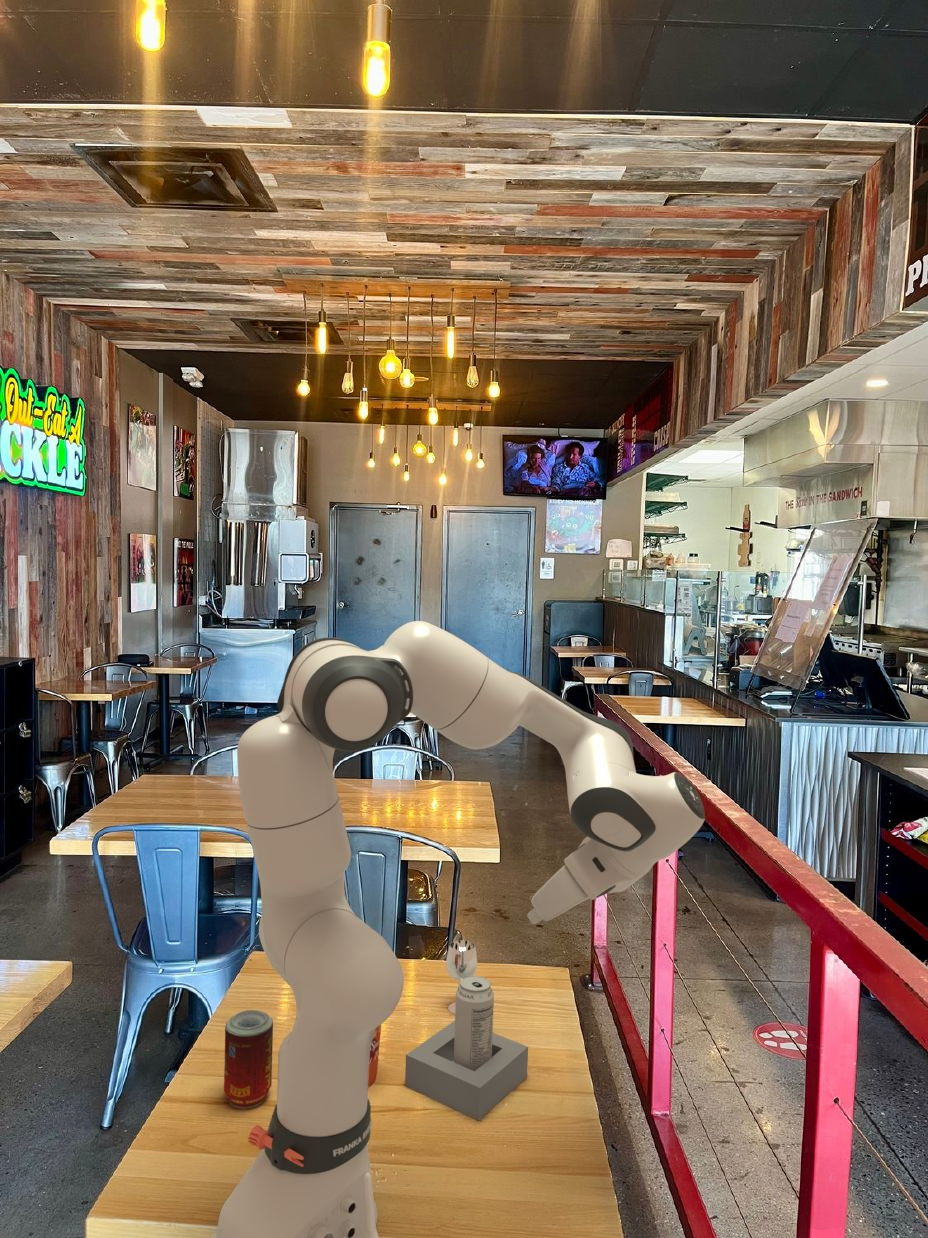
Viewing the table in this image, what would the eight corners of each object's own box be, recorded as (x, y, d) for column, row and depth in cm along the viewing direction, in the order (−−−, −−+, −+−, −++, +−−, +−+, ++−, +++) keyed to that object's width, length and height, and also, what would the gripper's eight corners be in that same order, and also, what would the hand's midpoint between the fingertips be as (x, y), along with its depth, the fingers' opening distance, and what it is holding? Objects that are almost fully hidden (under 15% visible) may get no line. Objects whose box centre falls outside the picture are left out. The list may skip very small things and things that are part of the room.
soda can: (229, 1083, 131) (231, 1006, 131) (275, 1083, 132) (277, 1007, 131) (218, 1111, 124) (220, 1030, 124) (266, 1112, 125) (268, 1031, 124)
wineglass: (445, 1000, 160) (447, 938, 159) (475, 1002, 160) (478, 939, 159) (443, 1015, 154) (445, 951, 154) (475, 1017, 154) (477, 953, 153)
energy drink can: (475, 1060, 138) (478, 971, 137) (498, 1078, 133) (502, 985, 132) (445, 1073, 134) (448, 980, 134) (468, 1091, 129) (472, 996, 129)
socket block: (478, 1121, 124) (479, 1088, 124) (404, 1086, 132) (405, 1055, 132) (527, 1077, 136) (528, 1047, 136) (456, 1047, 144) (457, 1018, 144)
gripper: (627, 823, 129) (568, 872, 135) (564, 857, 112) (499, 911, 118) (654, 858, 126) (592, 906, 132) (593, 898, 110) (526, 951, 116)
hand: (548, 909), depth 125 cm, fingers open, 8 cm apart
